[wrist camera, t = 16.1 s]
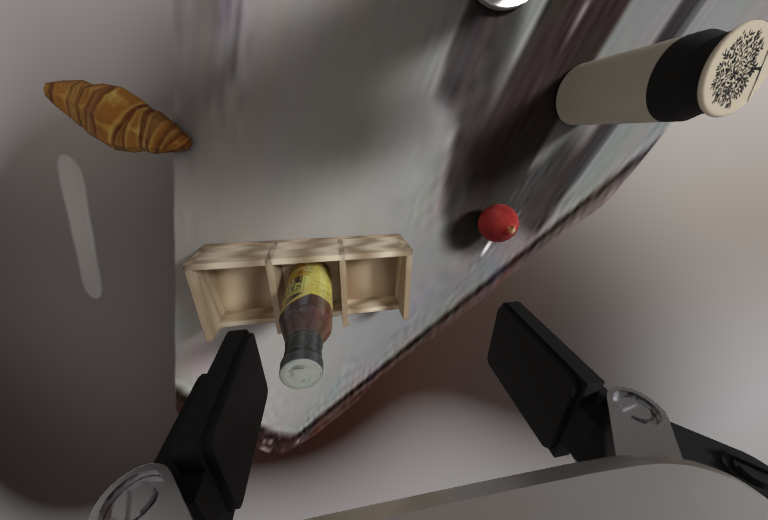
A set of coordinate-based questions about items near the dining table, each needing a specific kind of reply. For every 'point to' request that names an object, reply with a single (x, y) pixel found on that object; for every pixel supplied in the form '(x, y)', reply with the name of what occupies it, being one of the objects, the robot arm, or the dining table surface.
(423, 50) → the dining table surface
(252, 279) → the wooden compartment shelf
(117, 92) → the croissant
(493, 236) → the onion
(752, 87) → the travel mug
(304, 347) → the sauce bottle
